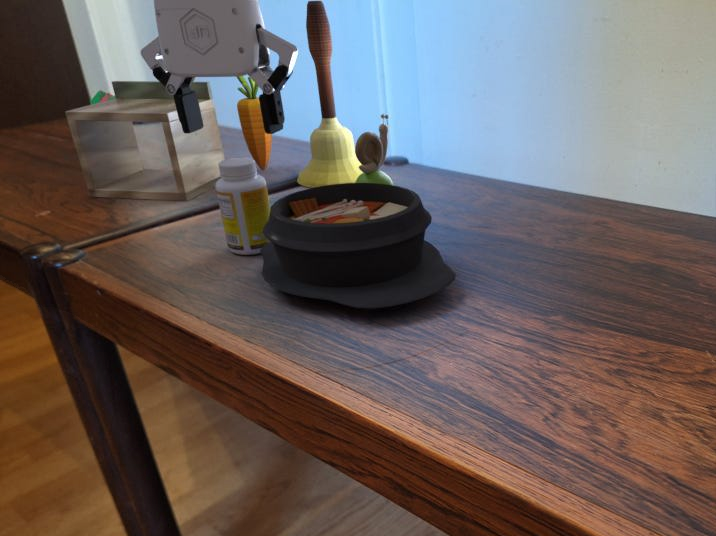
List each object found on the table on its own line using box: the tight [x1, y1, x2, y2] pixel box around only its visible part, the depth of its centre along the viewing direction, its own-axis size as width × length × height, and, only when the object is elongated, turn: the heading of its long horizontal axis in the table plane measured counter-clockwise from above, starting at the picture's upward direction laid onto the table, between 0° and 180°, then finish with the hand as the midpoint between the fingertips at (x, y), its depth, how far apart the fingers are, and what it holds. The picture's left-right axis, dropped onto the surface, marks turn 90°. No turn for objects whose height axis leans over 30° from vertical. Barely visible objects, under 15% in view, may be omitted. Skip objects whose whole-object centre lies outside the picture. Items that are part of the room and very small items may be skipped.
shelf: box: [64, 80, 226, 202], centre depth 104 cm, size 16×12×15 cm
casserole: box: [260, 183, 457, 310], centre depth 72 cm, size 25×19×8 cm
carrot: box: [236, 76, 272, 172], centre depth 112 cm, size 5×5×15 cm
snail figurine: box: [354, 113, 395, 186], centre depth 93 cm, size 5×6×12 cm
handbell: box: [296, 0, 363, 188], centre depth 105 cm, size 12×12×25 cm
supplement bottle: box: [215, 157, 271, 256], centre depth 81 cm, size 6×6×10 cm
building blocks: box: [90, 89, 144, 124], centre depth 155 cm, size 8×8×12 cm
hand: (233, 131), depth 76 cm, fingers open, 9 cm apart
